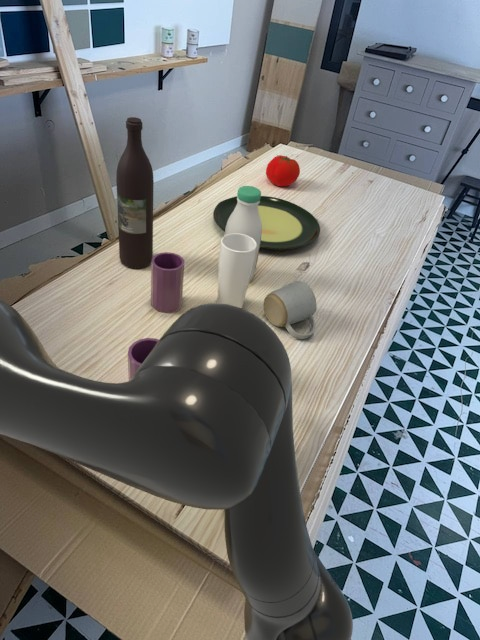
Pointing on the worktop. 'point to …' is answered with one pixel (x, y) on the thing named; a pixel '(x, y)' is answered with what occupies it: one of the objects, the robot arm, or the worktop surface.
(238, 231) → the milk bottle
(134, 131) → the wine bottle
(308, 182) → the worktop surface
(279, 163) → the tomato
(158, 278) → the far cup
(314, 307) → the ceramic mug
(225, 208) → the plate
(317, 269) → the worktop surface
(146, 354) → the pair cup
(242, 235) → the drinking glass
